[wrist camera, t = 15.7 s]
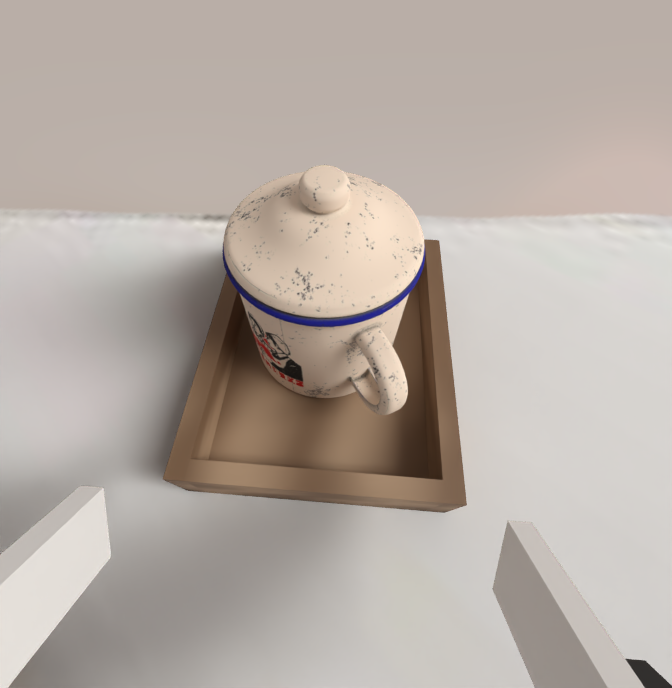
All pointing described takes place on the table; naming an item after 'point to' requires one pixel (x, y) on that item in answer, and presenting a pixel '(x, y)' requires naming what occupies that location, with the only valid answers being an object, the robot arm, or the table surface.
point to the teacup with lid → (327, 282)
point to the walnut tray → (324, 420)
